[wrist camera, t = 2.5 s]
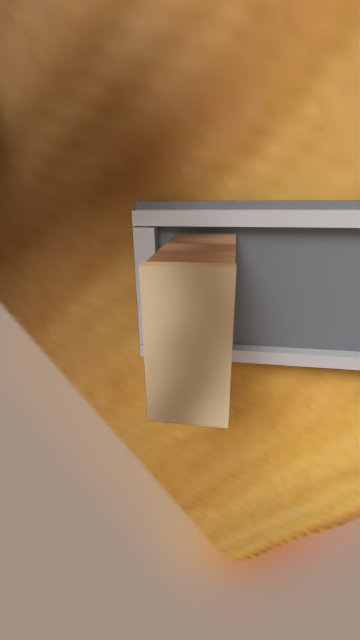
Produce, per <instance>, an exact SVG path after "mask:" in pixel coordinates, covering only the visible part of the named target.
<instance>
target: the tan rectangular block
mask: <svg viewBox="0 0 360 640" xmlns="http://www.w3.org/2000/svg"><path fill="white" fill-rule="evenodd" d="M235 257H236V233H177V234H176V235H174V236H173V237H172V238H171V239H170V240H169V241H168V242H167V243H166V244H165V245H163V246H162V247H161V248H160V249H159V250H158V251H157V252H156V253H155V254H154V255H152V256H151V257H150V258H149V259H148V260H147V261H143V262H142V263H141V264H140V265H139V277H140V294H141V312H142V329H143V347H144V364H145V382H146V399H147V416H148V421H154V422H165V423H176V424H187V425H198V426H209V427H219V428H228V423H229V404H230V384H231V365H232V345H233V326H234V306H235V287H236V265H237V264H235Z"/></svg>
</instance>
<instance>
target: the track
mask: <svg viewBox="0 0 360 640" xmlns="http://www.w3.org/2000/svg"><path fill="white" fill-rule="evenodd" d="M135 207H136V209H135V210H132V225H133V226H135V227H133V242H134V258H135V274H136V290H137V306H138V323H139V339H140V355H141V356H144V347H143V329H142V312H141V294H140V277H139V265H140V264H141V263H142V262H143V261H147V260H148V259H149V258H150V257H151V256H152V255H154V254H155V253H156V252H157V251H158V250H159V249H160V248H161V247H162V246H163V245H165V244H166V243H167V242H168V241H169V240H170V239H171V238H172V237H173V236H174V235H176V234H177V233H236V257H235V264H237V265H236V287H235V306H234V326H233V345H232V362H240V363H255V364H271V365H286V366H302V367H318V368H333V369H349V370H360V200H306V201H137V202H135Z"/></svg>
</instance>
